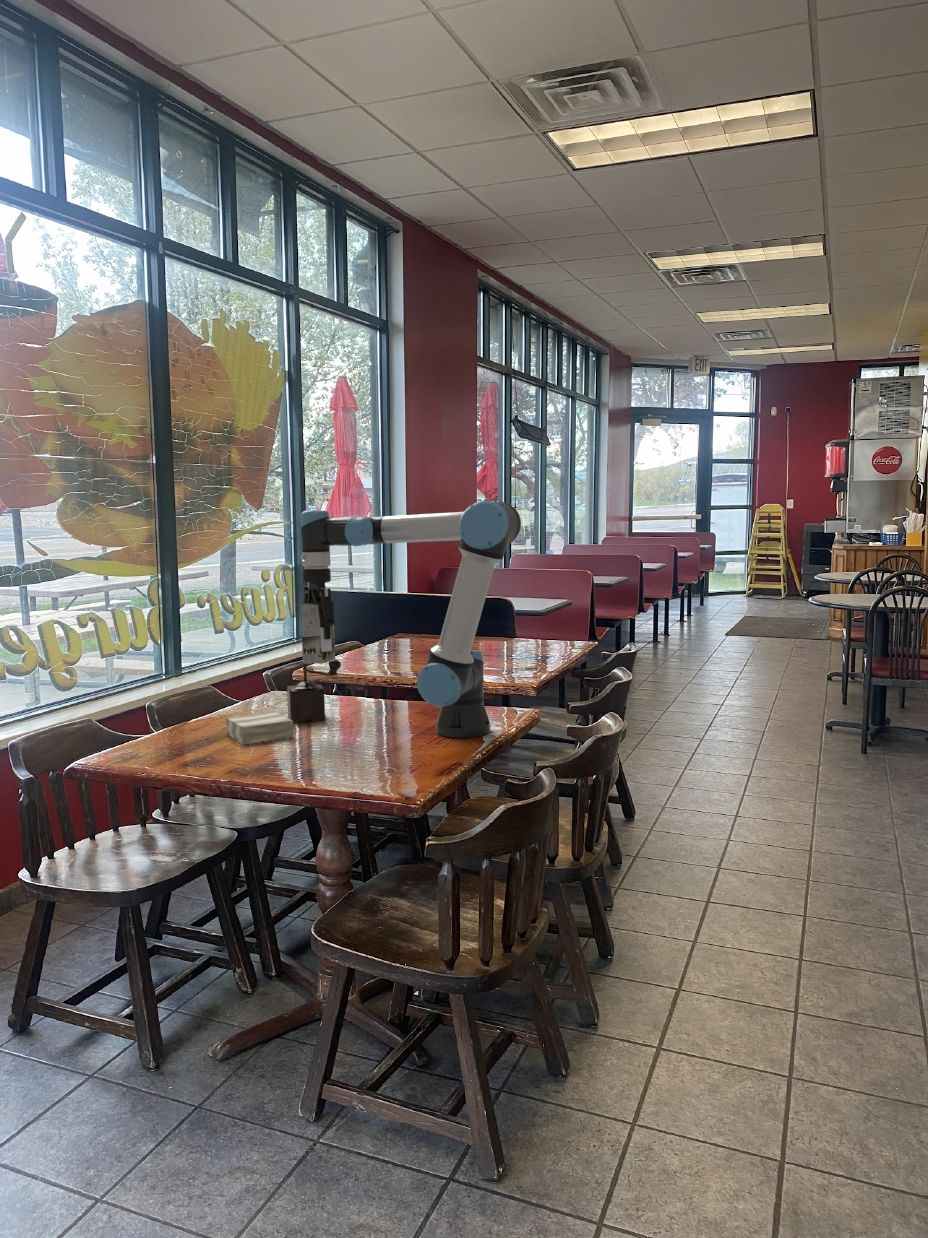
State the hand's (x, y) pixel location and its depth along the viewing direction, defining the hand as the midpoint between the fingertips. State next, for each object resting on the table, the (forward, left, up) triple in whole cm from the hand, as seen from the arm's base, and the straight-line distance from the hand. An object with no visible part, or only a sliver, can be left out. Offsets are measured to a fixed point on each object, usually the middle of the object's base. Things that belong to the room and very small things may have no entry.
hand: (319, 648), depth 247 cm
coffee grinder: (+21, -6, -24) cm, 32 cm away
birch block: (+8, +15, -24) cm, 30 cm away
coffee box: (0, 0, -4) cm, 4 cm away
